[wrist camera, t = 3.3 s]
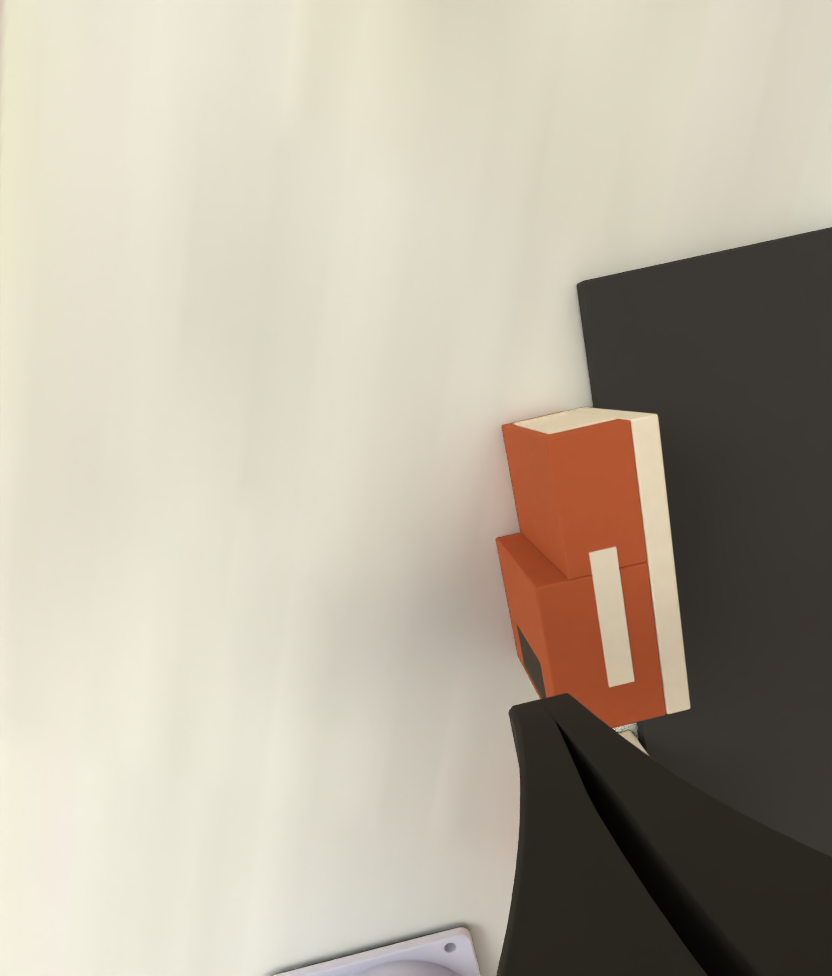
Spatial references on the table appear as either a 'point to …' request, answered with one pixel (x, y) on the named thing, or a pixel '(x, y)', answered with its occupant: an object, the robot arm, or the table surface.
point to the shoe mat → (739, 509)
